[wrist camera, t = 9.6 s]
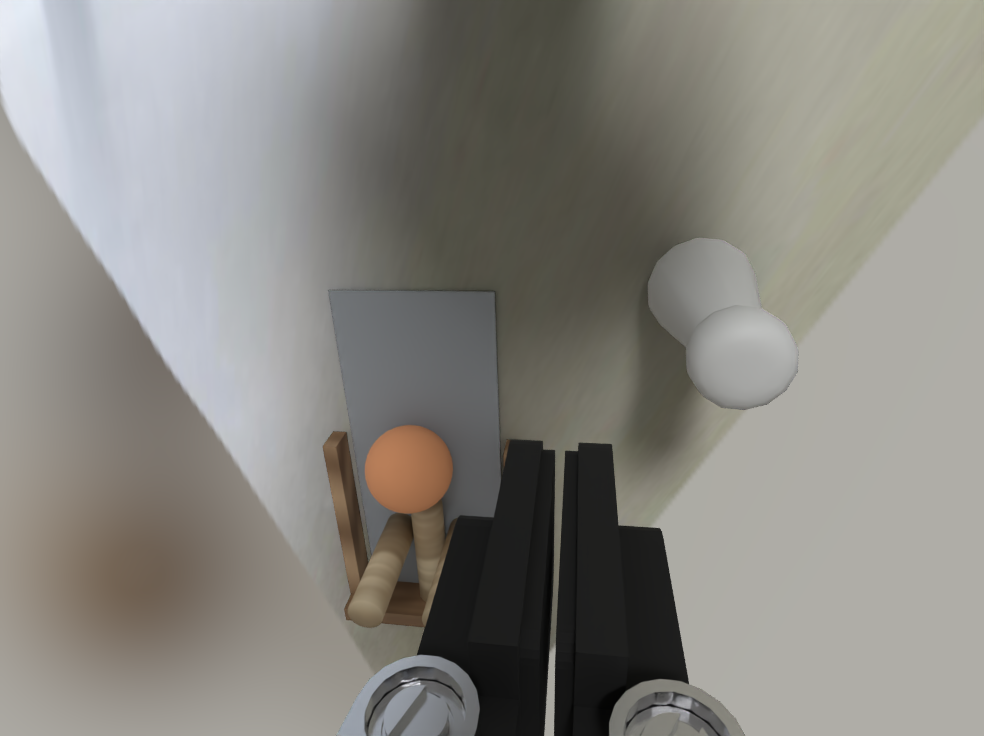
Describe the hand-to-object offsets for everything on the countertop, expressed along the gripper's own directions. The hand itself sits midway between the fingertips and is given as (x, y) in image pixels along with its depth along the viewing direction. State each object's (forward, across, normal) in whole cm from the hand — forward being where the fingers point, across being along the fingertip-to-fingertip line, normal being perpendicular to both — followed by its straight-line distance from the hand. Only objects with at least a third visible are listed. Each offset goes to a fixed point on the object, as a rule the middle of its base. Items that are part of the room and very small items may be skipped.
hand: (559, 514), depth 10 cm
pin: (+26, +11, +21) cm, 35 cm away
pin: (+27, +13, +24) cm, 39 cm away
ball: (+24, +11, +17) cm, 31 cm away
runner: (+27, +10, +18) cm, 34 cm away
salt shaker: (+27, -7, +4) cm, 28 cm away
